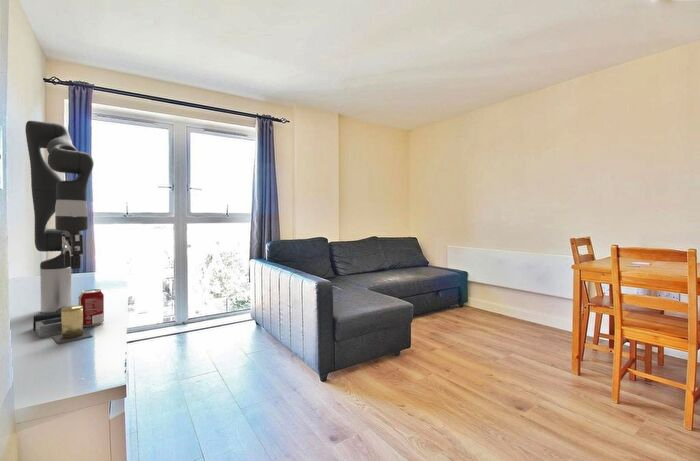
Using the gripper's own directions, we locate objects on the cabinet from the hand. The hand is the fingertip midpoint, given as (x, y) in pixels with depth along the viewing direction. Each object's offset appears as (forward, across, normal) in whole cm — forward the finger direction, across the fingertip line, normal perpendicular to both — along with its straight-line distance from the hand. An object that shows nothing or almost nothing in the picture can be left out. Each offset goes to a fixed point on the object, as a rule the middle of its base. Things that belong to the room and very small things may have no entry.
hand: (72, 267), depth 97 cm
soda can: (+22, -11, +7) cm, 26 cm away
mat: (+22, 0, 0) cm, 22 cm away
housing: (+22, -11, -3) cm, 25 cm away
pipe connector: (+23, -21, +1) cm, 31 cm away
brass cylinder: (+22, 0, 0) cm, 22 cm away
